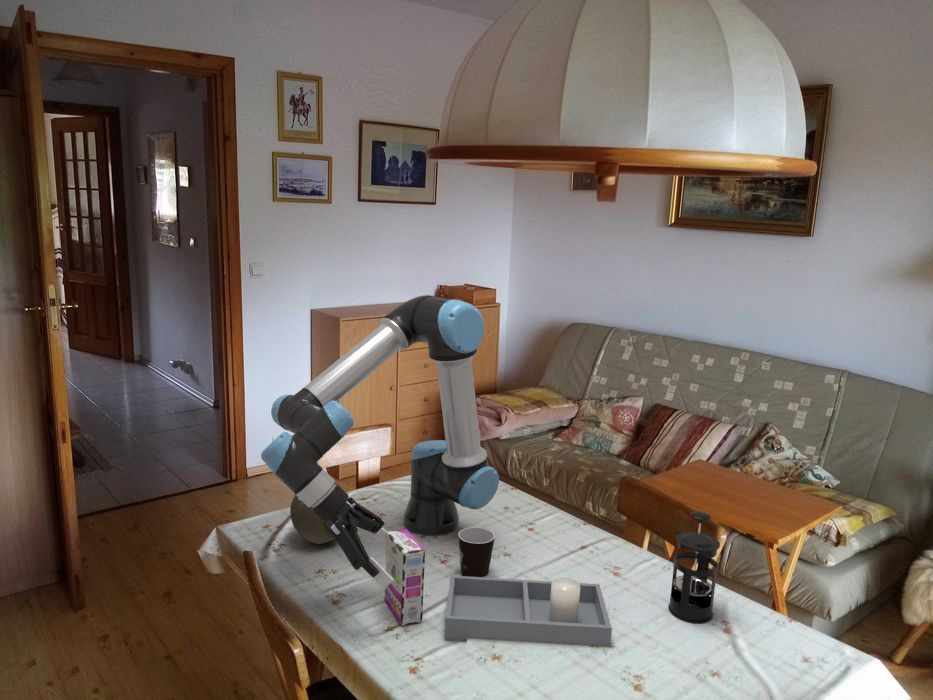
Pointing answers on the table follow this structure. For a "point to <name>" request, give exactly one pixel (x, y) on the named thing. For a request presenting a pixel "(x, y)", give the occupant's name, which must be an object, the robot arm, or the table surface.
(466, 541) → the coffee mug
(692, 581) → the french press
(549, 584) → the grey divided tray
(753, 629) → the table surface
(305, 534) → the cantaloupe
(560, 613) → the cream cylinder
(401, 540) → the candy bar box
